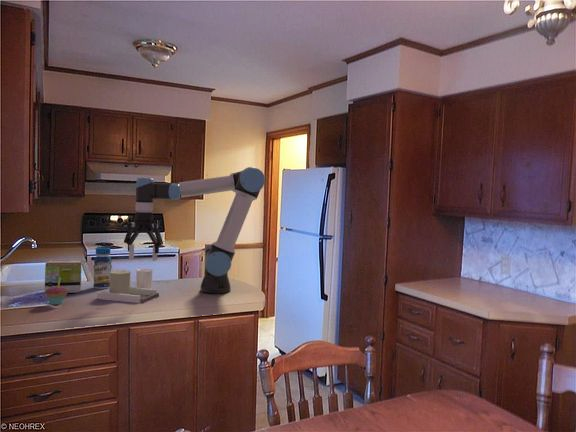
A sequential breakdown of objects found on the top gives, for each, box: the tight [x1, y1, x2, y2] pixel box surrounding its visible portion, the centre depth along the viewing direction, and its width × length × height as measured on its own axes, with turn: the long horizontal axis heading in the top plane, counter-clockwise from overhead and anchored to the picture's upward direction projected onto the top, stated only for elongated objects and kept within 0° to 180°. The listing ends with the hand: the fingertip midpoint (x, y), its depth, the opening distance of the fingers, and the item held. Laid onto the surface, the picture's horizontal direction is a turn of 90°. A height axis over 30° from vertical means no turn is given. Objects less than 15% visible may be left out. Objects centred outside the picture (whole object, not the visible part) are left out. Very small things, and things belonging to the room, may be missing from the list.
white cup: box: [135, 268, 154, 289], centre depth 212 cm, size 8×8×10 cm
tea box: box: [44, 259, 83, 294], centre depth 203 cm, size 15×10×15 cm, turn 114°
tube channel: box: [96, 286, 157, 304], centre depth 197 cm, size 21×15×3 cm
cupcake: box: [44, 277, 68, 306], centre depth 181 cm, size 9×8×12 cm
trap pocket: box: [140, 292, 160, 304], centre depth 195 cm, size 6×14×2 cm, turn 168°
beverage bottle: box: [93, 246, 113, 290], centre depth 215 cm, size 8×8×20 cm
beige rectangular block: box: [108, 269, 131, 295], centre depth 197 cm, size 9×9×12 cm
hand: (143, 259), depth 195 cm, fingers open, 11 cm apart
